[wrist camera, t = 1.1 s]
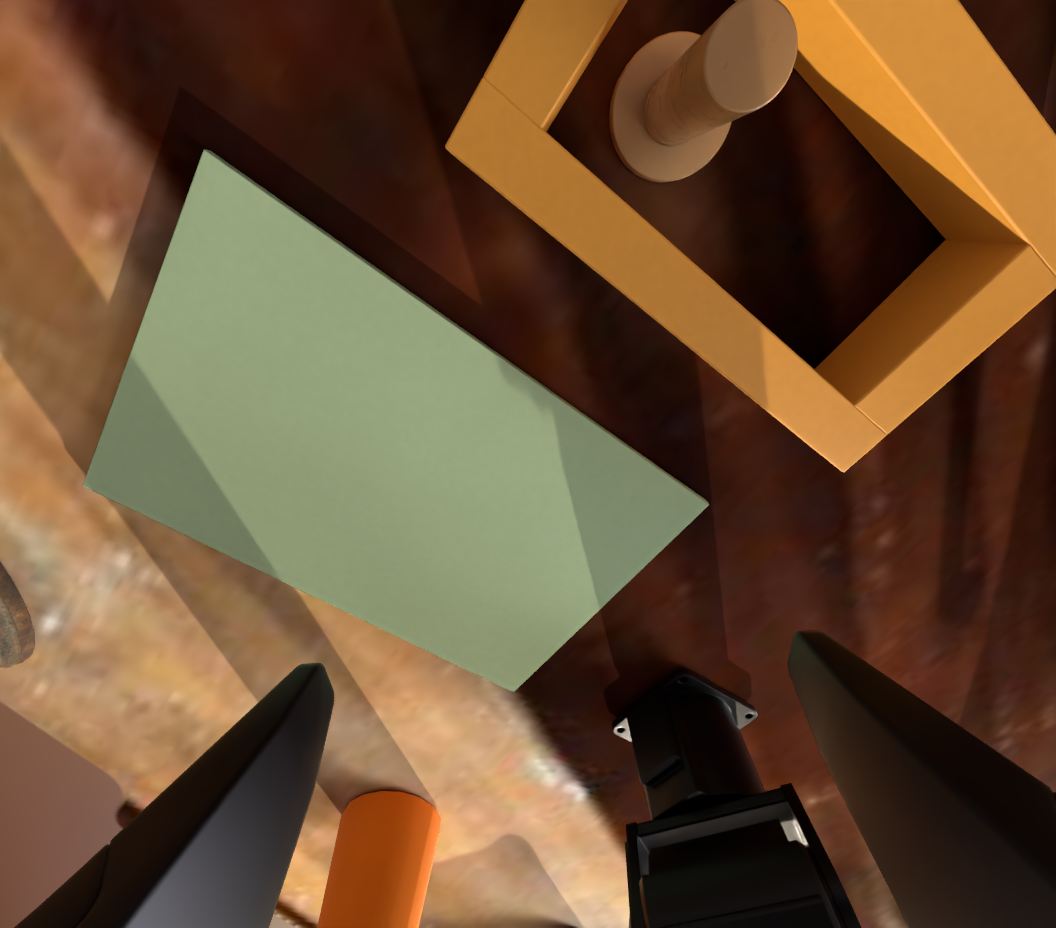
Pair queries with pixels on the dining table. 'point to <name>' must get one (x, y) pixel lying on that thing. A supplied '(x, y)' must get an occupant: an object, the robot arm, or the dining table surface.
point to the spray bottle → (381, 862)
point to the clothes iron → (13, 624)
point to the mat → (369, 444)
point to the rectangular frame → (885, 132)
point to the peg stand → (699, 88)
